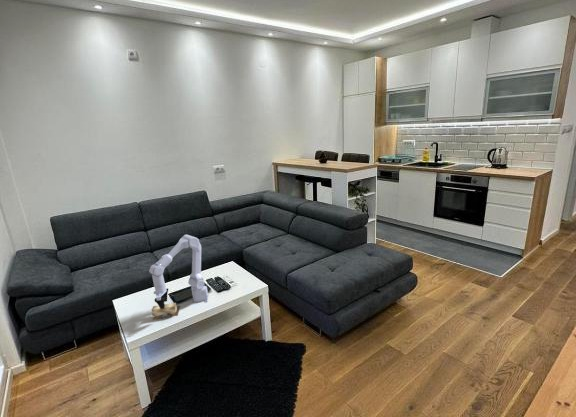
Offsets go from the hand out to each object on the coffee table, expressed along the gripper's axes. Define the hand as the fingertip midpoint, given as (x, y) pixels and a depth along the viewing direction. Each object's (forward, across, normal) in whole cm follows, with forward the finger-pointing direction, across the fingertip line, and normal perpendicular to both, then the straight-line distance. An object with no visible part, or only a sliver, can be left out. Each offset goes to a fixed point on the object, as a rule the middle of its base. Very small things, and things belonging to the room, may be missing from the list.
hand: (163, 304), depth 180 cm
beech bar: (+5, 0, 0) cm, 5 cm away
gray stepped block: (+8, 0, 0) cm, 8 cm away
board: (+8, -3, 0) cm, 9 cm away
